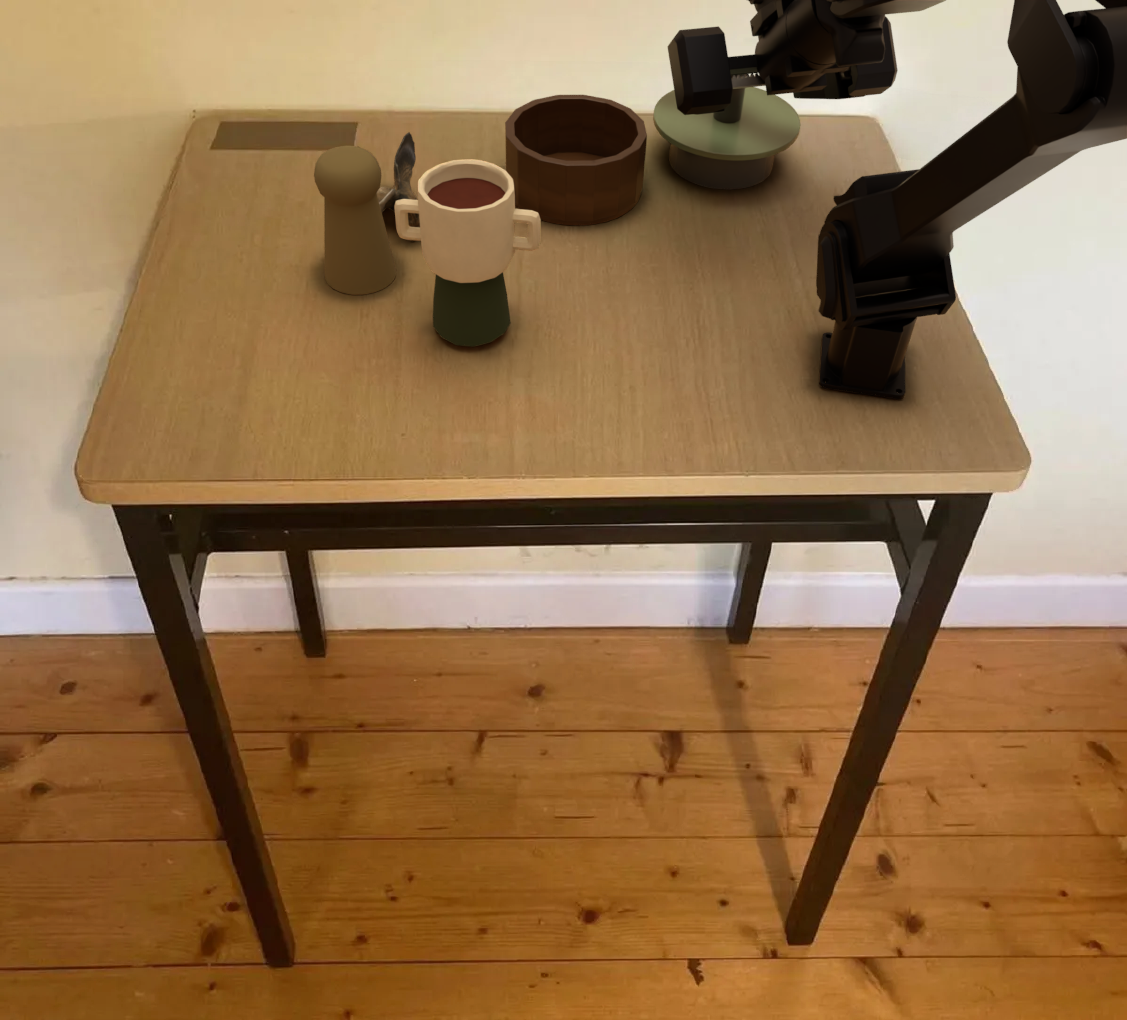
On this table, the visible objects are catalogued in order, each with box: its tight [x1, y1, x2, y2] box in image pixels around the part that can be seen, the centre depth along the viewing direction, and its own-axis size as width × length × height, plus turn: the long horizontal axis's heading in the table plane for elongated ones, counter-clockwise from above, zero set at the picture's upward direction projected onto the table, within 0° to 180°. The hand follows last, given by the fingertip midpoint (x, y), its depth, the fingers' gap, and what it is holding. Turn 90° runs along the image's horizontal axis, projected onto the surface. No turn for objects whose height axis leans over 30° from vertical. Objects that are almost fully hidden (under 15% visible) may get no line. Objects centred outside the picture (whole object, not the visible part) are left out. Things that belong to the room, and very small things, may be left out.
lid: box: [652, 74, 802, 161], centre depth 104 cm, size 14×14×6 cm
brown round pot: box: [504, 94, 648, 226], centre depth 102 cm, size 13×13×6 cm
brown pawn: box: [313, 145, 397, 296], centre depth 91 cm, size 6×6×11 cm
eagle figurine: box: [377, 131, 420, 243], centre depth 98 cm, size 8×7×9 cm
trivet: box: [669, 143, 776, 190], centre depth 107 cm, size 10×10×4 cm
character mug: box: [394, 158, 542, 348], centre depth 85 cm, size 11×7×13 cm, turn 83°
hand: (747, 97), depth 100 cm, fingers open, 9 cm apart
